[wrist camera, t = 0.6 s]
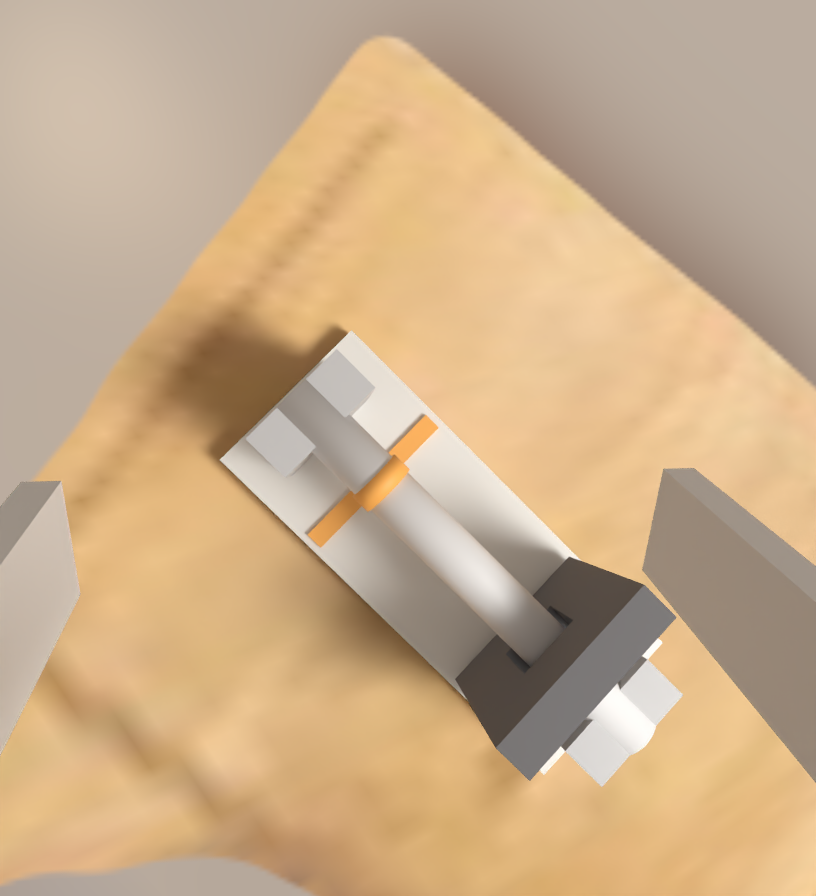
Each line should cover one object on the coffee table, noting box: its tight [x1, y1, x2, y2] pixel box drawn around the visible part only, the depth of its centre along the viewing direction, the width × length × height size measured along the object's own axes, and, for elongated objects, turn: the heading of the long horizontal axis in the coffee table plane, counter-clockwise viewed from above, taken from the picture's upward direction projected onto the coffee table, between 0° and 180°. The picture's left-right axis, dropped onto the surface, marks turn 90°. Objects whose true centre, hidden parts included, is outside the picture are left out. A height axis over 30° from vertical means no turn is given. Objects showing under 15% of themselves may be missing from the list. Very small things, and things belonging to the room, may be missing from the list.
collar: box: [455, 557, 676, 781], centre depth 40 cm, size 2×11×11 cm, turn 135°
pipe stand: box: [220, 330, 683, 787], centre depth 42 cm, size 30×12×9 cm, turn 45°
